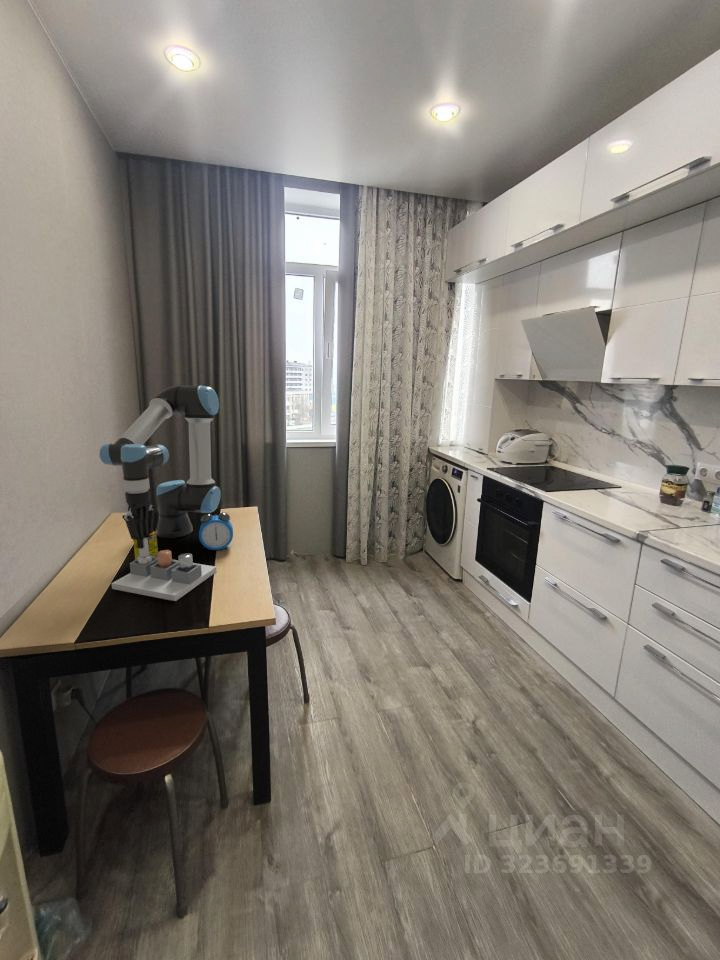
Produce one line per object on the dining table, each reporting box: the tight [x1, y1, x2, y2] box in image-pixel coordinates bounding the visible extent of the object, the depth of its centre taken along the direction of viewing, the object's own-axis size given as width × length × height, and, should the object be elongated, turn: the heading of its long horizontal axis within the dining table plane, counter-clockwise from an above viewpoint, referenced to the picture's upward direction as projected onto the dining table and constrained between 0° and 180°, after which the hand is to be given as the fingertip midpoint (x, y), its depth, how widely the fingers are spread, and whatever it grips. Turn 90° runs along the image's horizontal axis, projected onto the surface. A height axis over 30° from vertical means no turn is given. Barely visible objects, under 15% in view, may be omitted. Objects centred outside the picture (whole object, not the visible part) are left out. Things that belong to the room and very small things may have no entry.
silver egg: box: [177, 552, 194, 572], centre depth 148 cm, size 4×4×5 cm
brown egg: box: [157, 549, 173, 568], centre depth 150 cm, size 4×4×5 cm
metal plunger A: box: [137, 554, 152, 565], centre depth 153 cm, size 4×4×5 cm
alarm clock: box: [198, 512, 234, 551], centre depth 178 cm, size 13×6×15 cm, turn 107°
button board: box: [111, 557, 217, 602], centre depth 151 cm, size 22×25×6 cm
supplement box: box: [132, 530, 159, 561], centre depth 165 cm, size 6×6×11 cm
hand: (144, 555), depth 152 cm, fingers closed
